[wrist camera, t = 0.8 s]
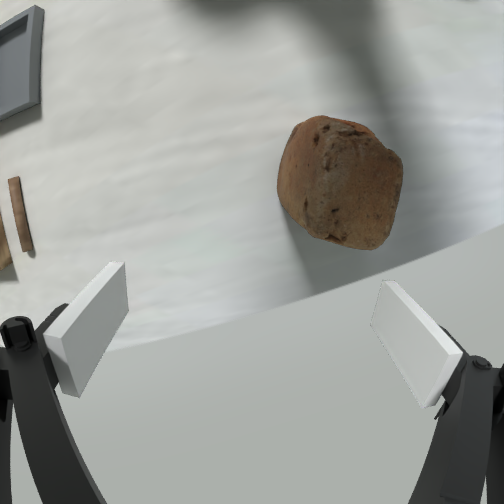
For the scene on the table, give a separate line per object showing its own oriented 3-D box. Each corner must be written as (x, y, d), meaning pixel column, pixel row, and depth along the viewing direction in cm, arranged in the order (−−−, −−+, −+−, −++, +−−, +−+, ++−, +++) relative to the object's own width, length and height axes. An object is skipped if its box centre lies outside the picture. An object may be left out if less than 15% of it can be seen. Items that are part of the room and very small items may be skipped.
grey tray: (-3, 37, 28) (-13, 34, 25) (44, 10, 28) (35, 4, 25) (-7, 124, 34) (-18, 125, 31) (40, 103, 34) (29, 101, 31)
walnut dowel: (14, 177, 38) (5, 180, 36) (20, 175, 37) (11, 178, 35) (29, 247, 42) (20, 252, 40) (35, 247, 41) (26, 252, 39)
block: (324, 209, 41) (389, 263, 22) (270, 199, 40) (296, 248, 21) (340, 131, 37) (422, 124, 19) (285, 118, 37) (327, 93, 18)
